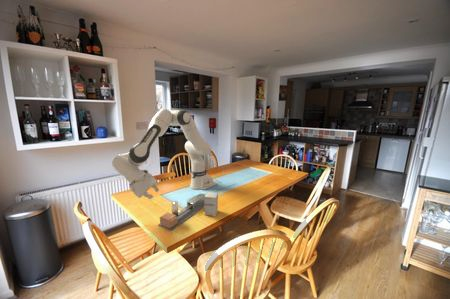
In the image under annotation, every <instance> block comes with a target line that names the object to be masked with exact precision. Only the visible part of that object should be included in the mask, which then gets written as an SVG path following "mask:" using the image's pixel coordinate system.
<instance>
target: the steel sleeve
mask: <svg viewBox="0 0 450 299" xmlns="http://www.w3.org/2000/svg"><path fill="white" fill-rule="evenodd" d="M205 195H206V194H202V193H198V194H197V195H195V196H193V197H192V198H191V199H189V200H187V201H186V206H187V205H189V204H193V207H192V208H191V209H189V210H192V211H194V210H196V209H197V208H198V207H200V206H201V205H203V204H204V203H205Z"/></svg>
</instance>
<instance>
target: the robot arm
mask: <svg viewBox="0 0 450 299" xmlns="http://www.w3.org/2000/svg"><path fill="white" fill-rule="evenodd" d="M148 124H149V125H148V126H147V131H146V133H145V134H144V136H143V137H142V138H141V139H140V141H138V143H136V144H134V145H133V146H131V148H130V149H129V152H127V153H119V154H118V155H117V156H115V157H114V159H113V160H112V167H113V169H114V171H116V172H117V173H118V174H119V175H120V176H123V177H124V178H125V180H126V181H127V182H128V183H129V186H128V187H129V189H130V190H131V192H132V193H133V194H134V195H135V196H136V197H137V198H139V199H141V198H142V197H144V198H147V199H149V200H152V199H153V198H154V195H152V194H150V193H149V192H148V191H149V190H150V189H151V188H153V189H154V191H155V192H156V193H158V192H159V190H160V189H159V187H158V186H157V184H156V183H157V181H158V180H157V179H156V177H155V176H154V175H152V173H149V170H147V169H140V167H142V166H144V165H145V164H146V163H147V161H148V159H149V157H150V154H151V153H150V152H151V148H152V145H153V144H154V143H155V141H156V140H157V138H158V137H162V136H163V135H164V134H165V133H166V132H167V130H168V128H169V127H179V126H180V128H181V130H182V133H183V134H184V136H185V139H186V140H187V141H186V142H185V144H184V150H185V151H186V152H187V154H188V157H189V159H190V166H191V170H190V177H191V178H190V184H189V188H191V189H193V190H207V189H209V188H211V187H214V186H215V185H216V181H214V179H213V177H212V176H211V175H210V174H209V170H208V169H206V168H205V167H206V166H205V165H206V164H205V159H204V158H203V157H202V156H208V155H210V154H211V151H212V145H211V144H210V143H208V141H206V140H205V138H204V137H203V136H202V135H201V133H200V131H199V129H198V126H197V124H196V121H195V119H193V116H192V115H191V114H190V112H188V111H187V110H185V109H173V110H169V109H167V108H162V109H159V111H157V112H156V114H155V115H154V116H153V117H152V119H151V121H150V122H149V123H148Z"/></svg>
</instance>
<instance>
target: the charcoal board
mask: <svg viewBox="0 0 450 299" xmlns="http://www.w3.org/2000/svg"><path fill="white" fill-rule="evenodd" d="M202 209H205V203H204V204H203V205H201V206H200V207H198V208H197V209H196V210H194V211H192V210H188V211H186V212H185V213H183V214H182V215H180V216H179V217H177V222H178V223H177V224H175V225H174V226H173V227H171V228H167V227H165V226H162V225H161V224H160V223H159V224H158V226H159V227H161V228H163V229H166V230H168V231H171V232H172V231H173V230H175V229H176V228H177V227H179V226H180V225H181V224H183V223H185V222H186V221H187V220H188V219H190V218H191V217H192V216H194V215H196V214H197V213H198V212H200V211H201V210H202Z"/></svg>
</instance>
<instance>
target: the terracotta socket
mask: <svg viewBox="0 0 450 299" xmlns="http://www.w3.org/2000/svg"><path fill="white" fill-rule="evenodd" d="M177 223H178V222H177V216H176V215H174V214H172V212H166V213H165V214H163V215H161V216H160V217H159V224H161V225H162V226H165V227H167V228H171V227H173V226H174V225H175V224H177Z"/></svg>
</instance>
